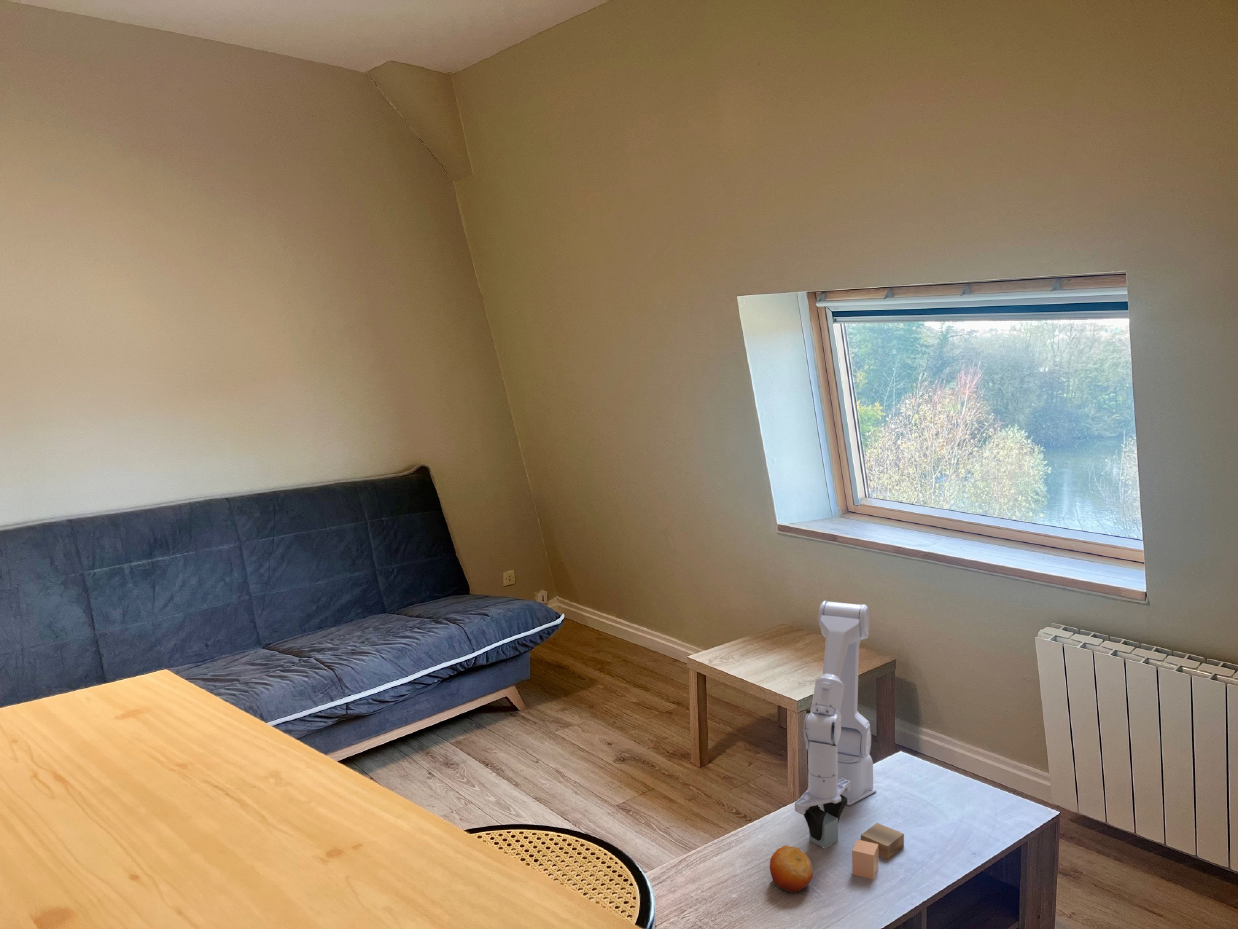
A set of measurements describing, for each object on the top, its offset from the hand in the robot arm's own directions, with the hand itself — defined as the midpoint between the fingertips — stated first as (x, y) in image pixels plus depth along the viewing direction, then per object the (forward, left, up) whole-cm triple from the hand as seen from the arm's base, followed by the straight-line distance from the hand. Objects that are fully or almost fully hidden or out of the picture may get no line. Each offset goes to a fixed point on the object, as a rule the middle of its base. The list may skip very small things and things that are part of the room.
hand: (823, 834), depth 185 cm
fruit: (+16, +6, -2) cm, 17 cm away
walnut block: (-7, +9, -2) cm, 12 cm away
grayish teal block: (0, 0, -2) cm, 2 cm away
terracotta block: (+2, +12, -2) cm, 12 cm away
